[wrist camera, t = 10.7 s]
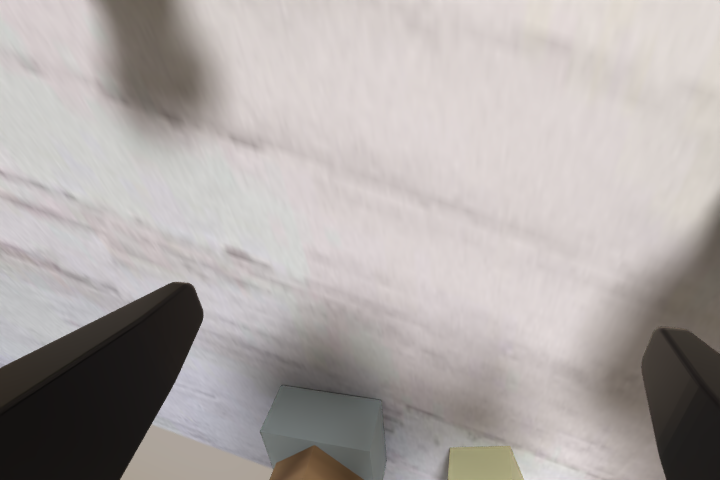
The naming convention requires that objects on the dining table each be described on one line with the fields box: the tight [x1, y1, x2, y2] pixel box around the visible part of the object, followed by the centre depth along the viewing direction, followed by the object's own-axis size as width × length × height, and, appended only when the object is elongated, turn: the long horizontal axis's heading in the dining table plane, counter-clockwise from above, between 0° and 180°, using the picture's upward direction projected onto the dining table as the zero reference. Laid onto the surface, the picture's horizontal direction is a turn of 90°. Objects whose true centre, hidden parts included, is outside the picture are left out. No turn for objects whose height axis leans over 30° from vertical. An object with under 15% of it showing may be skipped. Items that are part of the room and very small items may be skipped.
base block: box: [260, 385, 387, 480], centre depth 33 cm, size 8×8×4 cm
